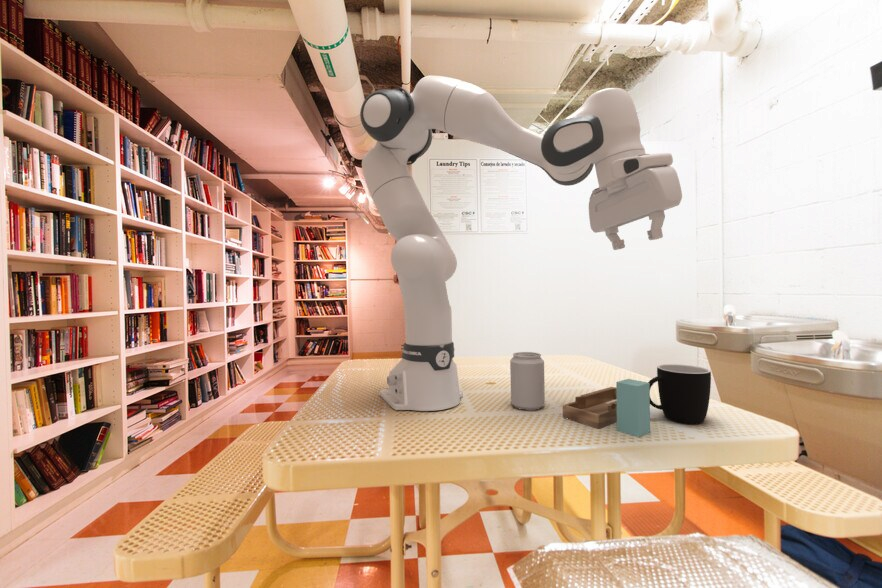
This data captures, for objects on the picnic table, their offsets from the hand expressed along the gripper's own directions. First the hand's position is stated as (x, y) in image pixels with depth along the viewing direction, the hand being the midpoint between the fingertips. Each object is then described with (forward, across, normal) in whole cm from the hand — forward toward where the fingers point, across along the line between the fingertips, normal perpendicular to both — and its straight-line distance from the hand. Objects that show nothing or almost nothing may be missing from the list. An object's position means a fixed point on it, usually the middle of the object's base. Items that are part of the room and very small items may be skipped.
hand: (636, 244), depth 71 cm
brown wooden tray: (+33, -10, -7) cm, 35 cm away
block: (+34, 0, -9) cm, 35 cm away
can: (+31, -19, -20) cm, 41 cm away
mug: (+36, -3, +4) cm, 36 cm away
